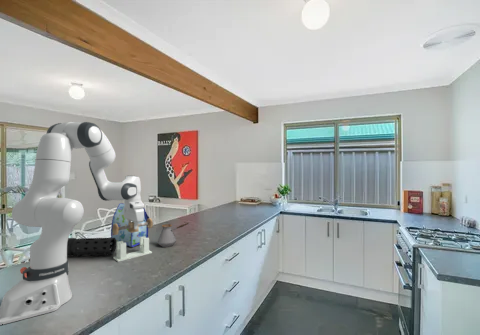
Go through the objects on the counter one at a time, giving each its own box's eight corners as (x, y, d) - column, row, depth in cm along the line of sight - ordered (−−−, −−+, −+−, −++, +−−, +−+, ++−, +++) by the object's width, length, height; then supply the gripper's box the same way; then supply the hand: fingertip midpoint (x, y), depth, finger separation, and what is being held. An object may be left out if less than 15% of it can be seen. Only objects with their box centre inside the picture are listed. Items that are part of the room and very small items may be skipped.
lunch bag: (152, 241, 170) (151, 203, 171) (131, 248, 156) (131, 206, 156) (130, 237, 181) (129, 201, 181) (108, 243, 166) (108, 204, 166)
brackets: (118, 261, 134) (117, 244, 134) (113, 258, 139) (113, 242, 139) (152, 253, 147) (151, 237, 147) (146, 250, 152) (146, 235, 152)
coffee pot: (154, 247, 157) (154, 223, 158) (163, 242, 169) (162, 219, 169) (186, 249, 154) (185, 224, 154) (193, 243, 165) (192, 220, 165)
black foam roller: (109, 258, 140) (109, 239, 140) (57, 259, 138) (57, 241, 138) (116, 252, 149) (116, 235, 149) (68, 253, 148) (68, 236, 148)
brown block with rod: (116, 236, 134) (116, 224, 134) (112, 233, 138) (112, 223, 138) (152, 228, 148) (152, 218, 148) (148, 227, 152) (148, 217, 152)
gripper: (120, 202, 148) (120, 226, 148) (134, 206, 134) (134, 232, 134) (131, 201, 152) (131, 224, 153) (146, 205, 138) (146, 230, 138)
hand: (133, 228), depth 143 cm, fingers closed on brown block with rod, 4 cm apart
